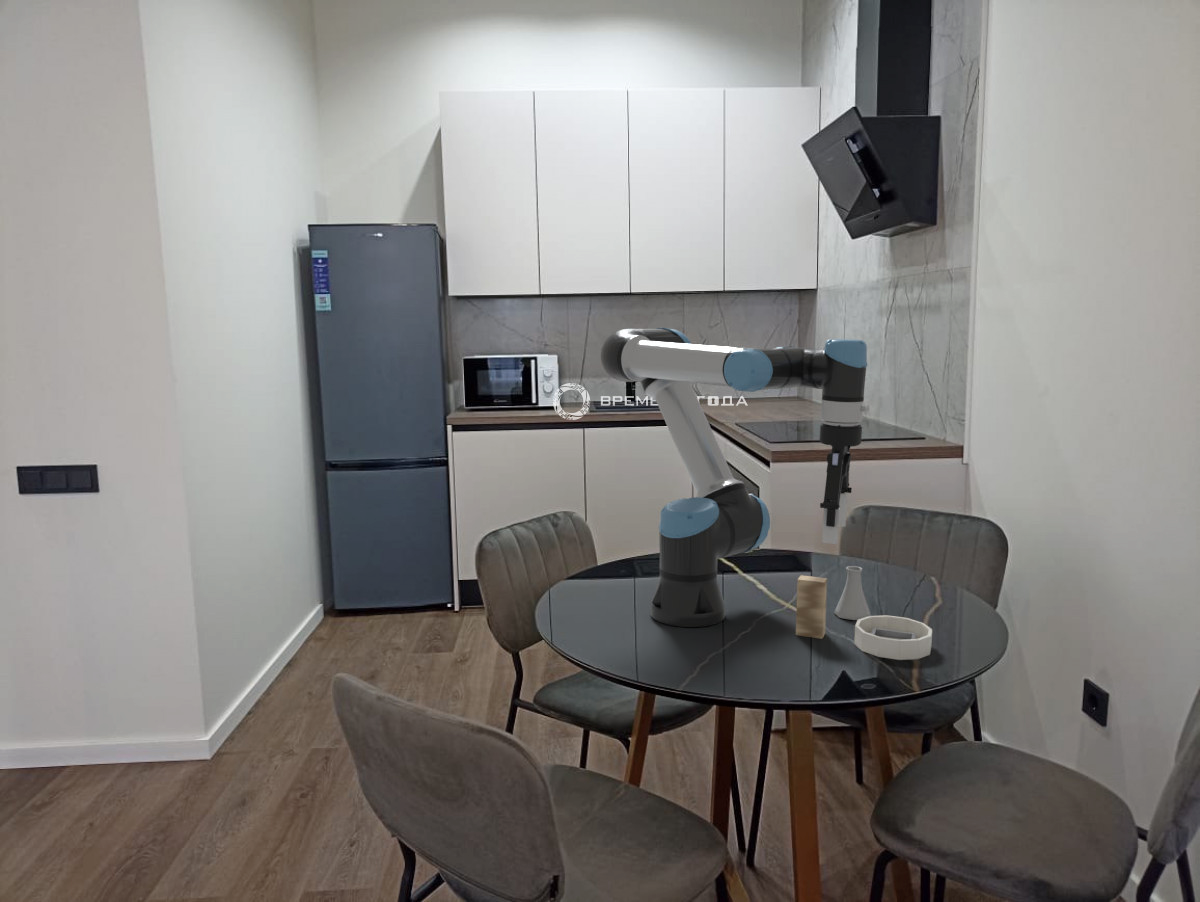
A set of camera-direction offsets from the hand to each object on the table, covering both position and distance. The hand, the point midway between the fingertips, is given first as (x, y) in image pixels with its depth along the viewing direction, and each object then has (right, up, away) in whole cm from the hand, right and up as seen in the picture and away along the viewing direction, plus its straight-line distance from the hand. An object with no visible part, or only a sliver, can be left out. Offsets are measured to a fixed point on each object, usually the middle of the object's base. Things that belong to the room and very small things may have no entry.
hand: (834, 534), depth 165 cm
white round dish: (+10, -20, -4) cm, 23 cm away
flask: (+7, -18, +12) cm, 23 cm away
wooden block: (-4, -19, +2) cm, 20 cm away
